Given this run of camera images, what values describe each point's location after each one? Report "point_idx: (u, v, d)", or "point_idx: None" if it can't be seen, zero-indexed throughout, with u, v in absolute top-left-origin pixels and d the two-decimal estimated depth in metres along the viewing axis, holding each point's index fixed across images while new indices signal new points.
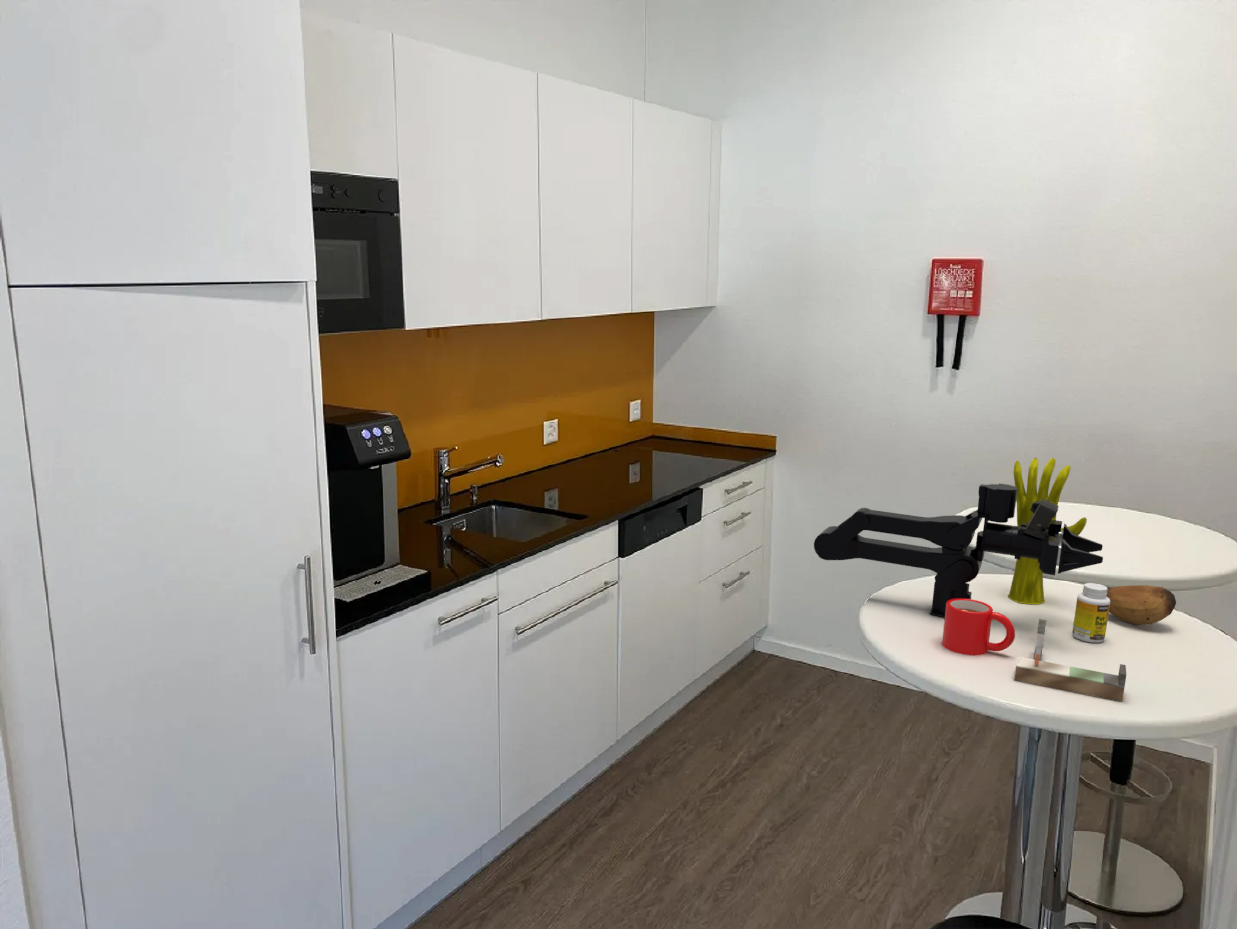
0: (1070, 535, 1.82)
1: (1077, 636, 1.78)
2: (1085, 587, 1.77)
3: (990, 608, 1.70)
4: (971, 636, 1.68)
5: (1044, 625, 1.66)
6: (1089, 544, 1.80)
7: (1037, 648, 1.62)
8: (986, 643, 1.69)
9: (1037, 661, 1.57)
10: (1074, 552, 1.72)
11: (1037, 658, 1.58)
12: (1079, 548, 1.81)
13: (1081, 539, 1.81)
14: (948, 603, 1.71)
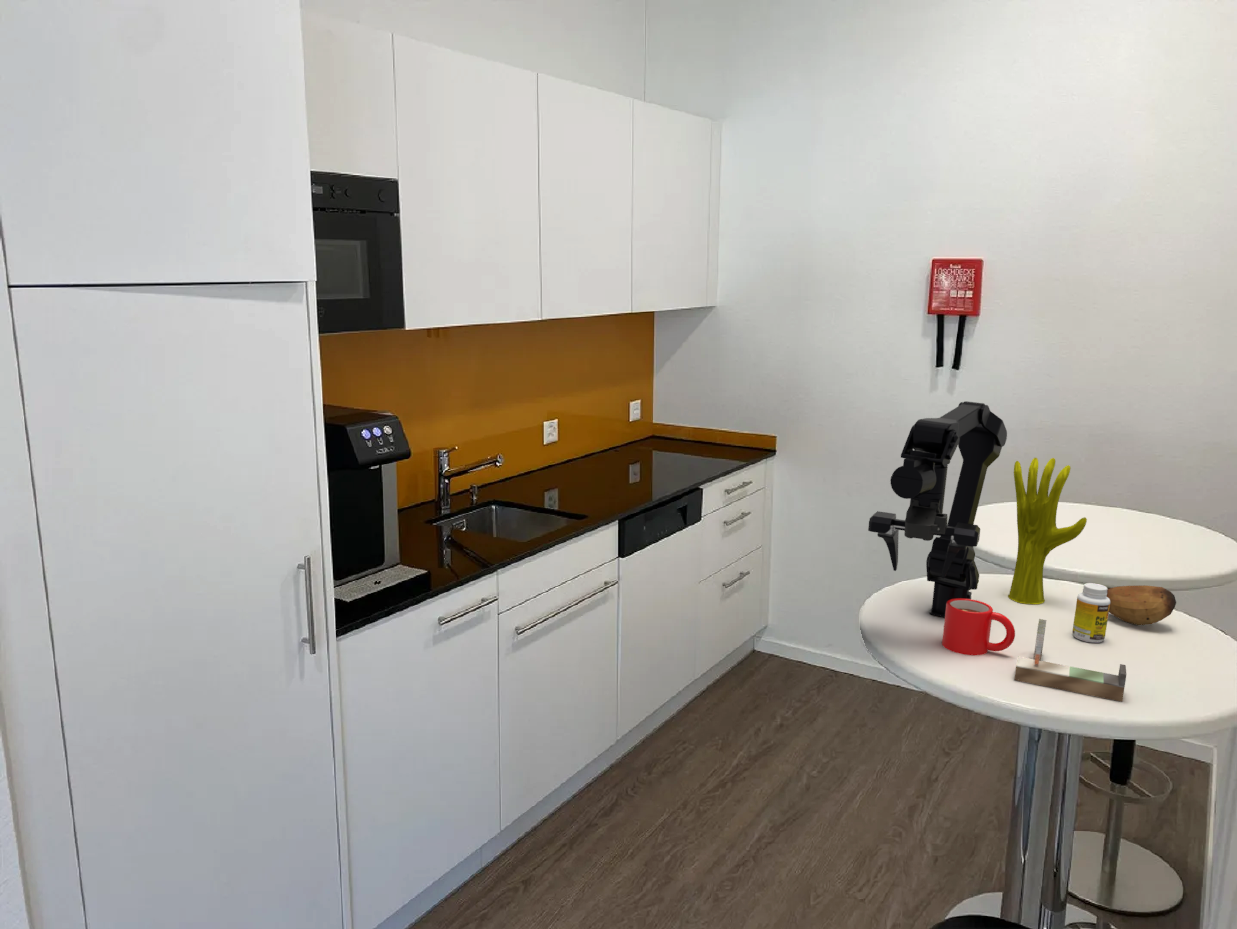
0: (947, 550, 1.69)
1: (1077, 636, 1.78)
2: (1085, 587, 1.77)
3: (990, 608, 1.70)
4: (971, 636, 1.68)
5: (1044, 625, 1.66)
6: (943, 566, 1.71)
7: (1037, 648, 1.62)
8: (986, 643, 1.69)
9: (1037, 661, 1.57)
10: (887, 545, 1.74)
11: (1037, 658, 1.58)
12: None
13: (945, 560, 1.70)
14: (948, 603, 1.71)
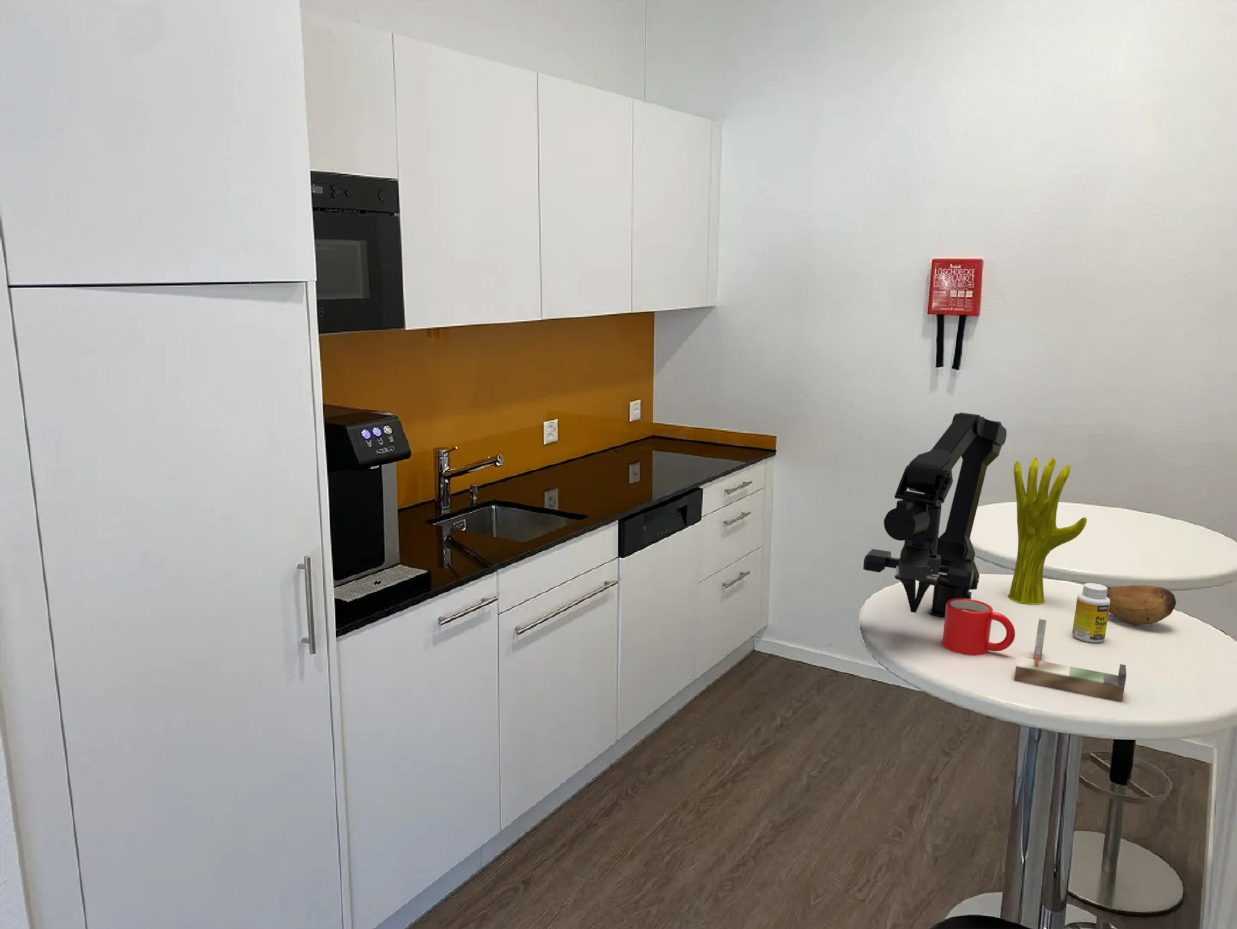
0: None
1: (1077, 636, 1.78)
2: (1085, 587, 1.77)
3: (990, 608, 1.70)
4: (971, 636, 1.68)
5: (1044, 625, 1.66)
6: (915, 601, 1.75)
7: (1037, 648, 1.62)
8: (986, 643, 1.69)
9: (1037, 661, 1.57)
10: (905, 587, 1.74)
11: (1037, 658, 1.58)
12: None
13: None
14: (948, 603, 1.71)
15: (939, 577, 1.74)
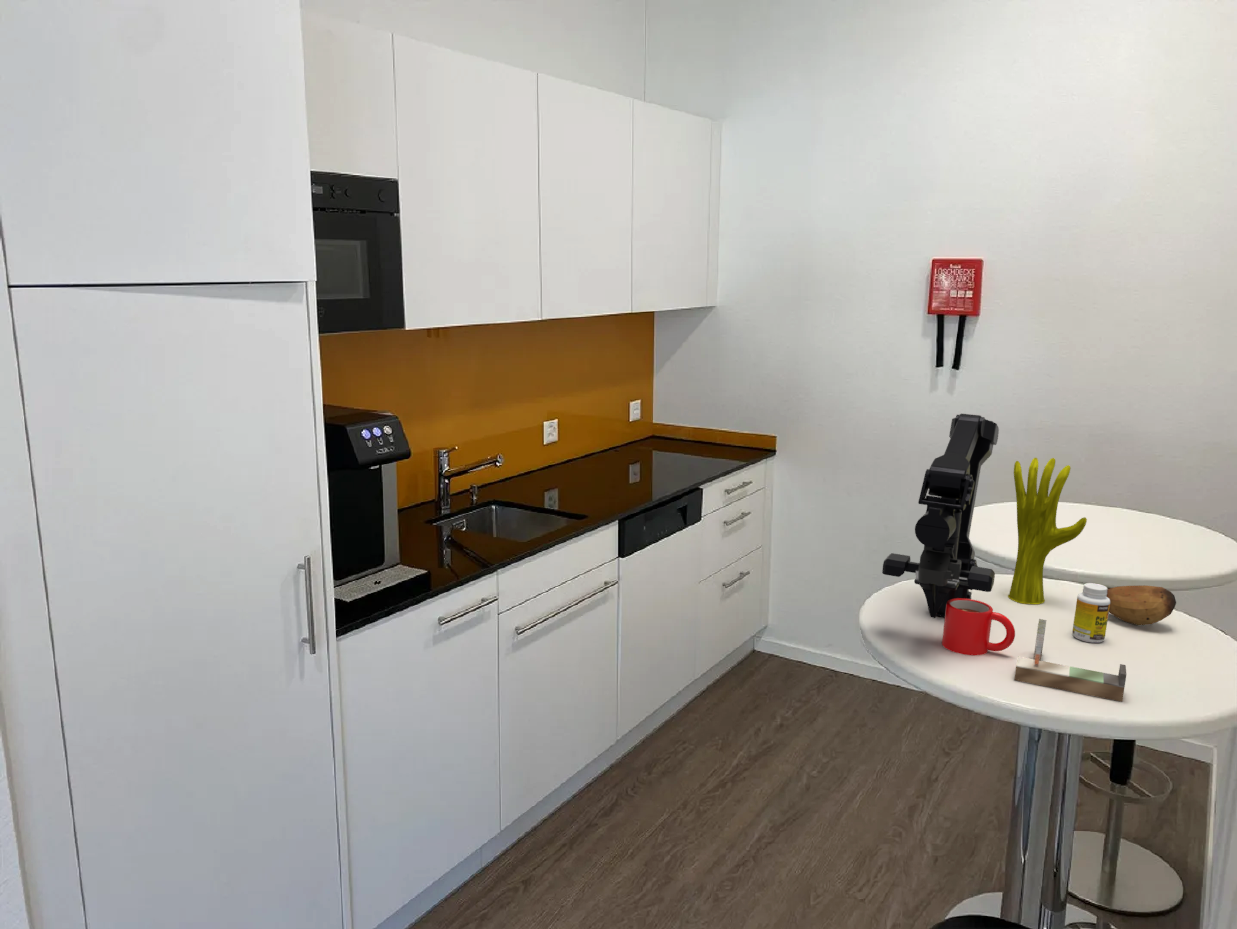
0: None
1: (1077, 636, 1.78)
2: (1085, 587, 1.77)
3: (990, 608, 1.70)
4: (971, 636, 1.68)
5: (1044, 625, 1.66)
6: (934, 606, 1.73)
7: (1037, 648, 1.62)
8: (986, 643, 1.69)
9: (1037, 661, 1.57)
10: None
11: (1037, 658, 1.58)
12: None
13: (936, 599, 1.72)
14: (948, 603, 1.71)
15: (959, 582, 1.72)
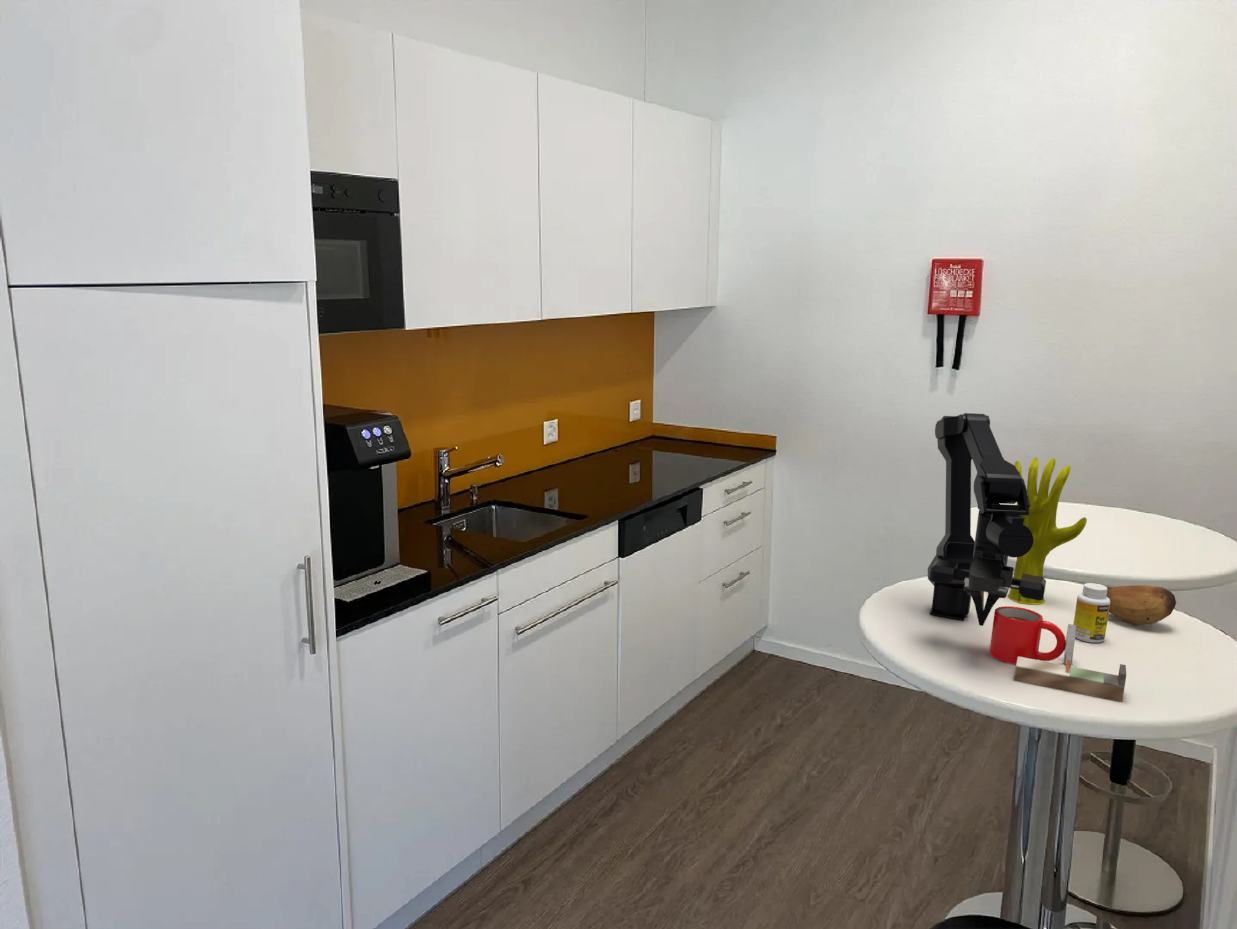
0: (987, 597, 1.68)
1: (1077, 636, 1.78)
2: (1085, 587, 1.77)
3: (1040, 617, 1.66)
4: (1020, 645, 1.64)
5: (1074, 630, 1.64)
6: (982, 613, 1.69)
7: (1067, 654, 1.60)
8: (1036, 652, 1.65)
9: (1068, 667, 1.55)
10: None
11: (1068, 664, 1.56)
12: None
13: (984, 607, 1.68)
14: (996, 611, 1.68)
15: (1008, 589, 1.69)
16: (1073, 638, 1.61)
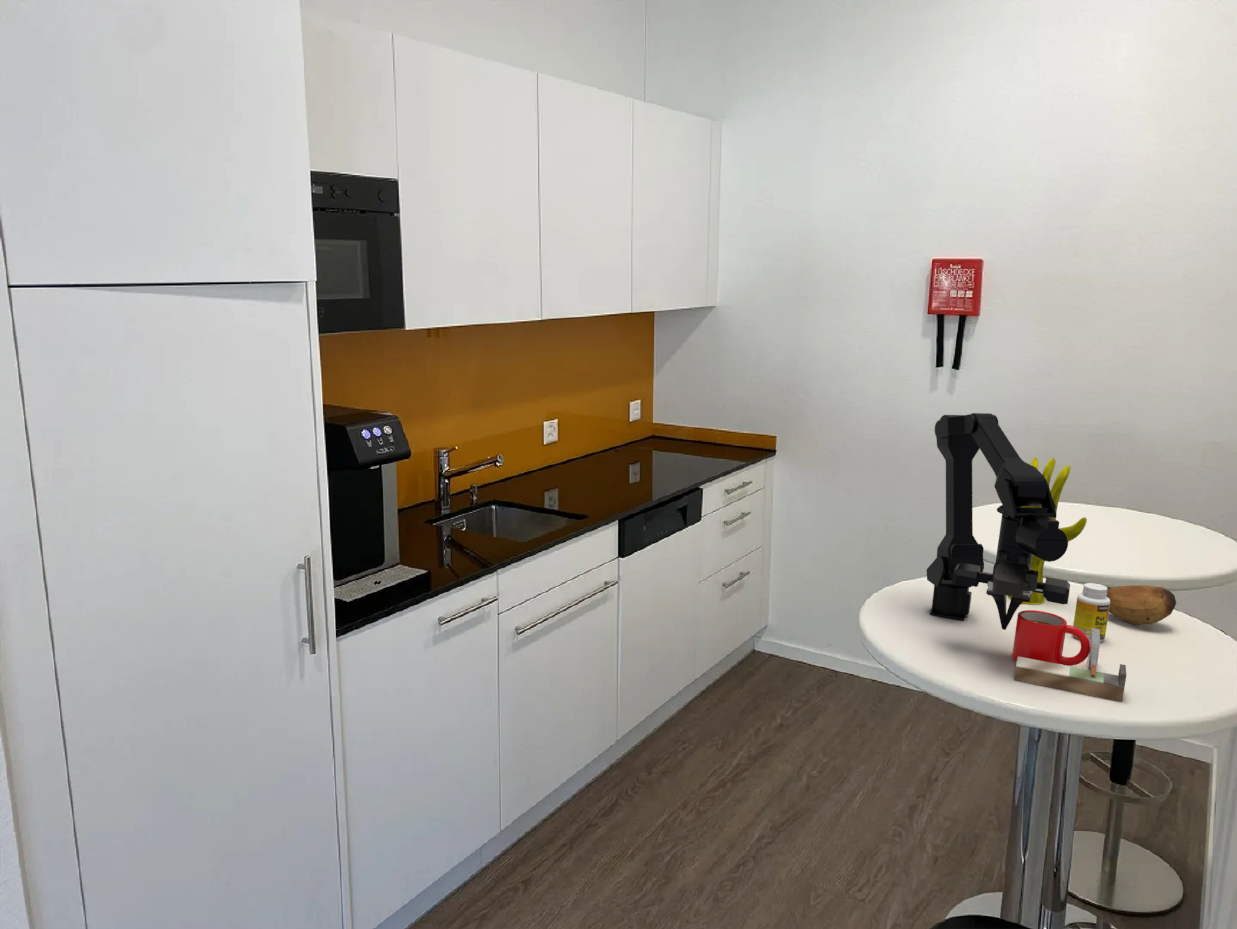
0: (1010, 601, 1.66)
1: None
2: (1085, 587, 1.77)
3: (1064, 621, 1.64)
4: (1044, 649, 1.63)
5: (1098, 634, 1.63)
6: (1005, 617, 1.68)
7: (1092, 658, 1.59)
8: (1059, 657, 1.64)
9: (1094, 672, 1.54)
10: (996, 603, 1.67)
11: (1094, 669, 1.55)
12: None
13: (1007, 611, 1.67)
14: (1020, 615, 1.66)
15: None
16: (1098, 642, 1.59)
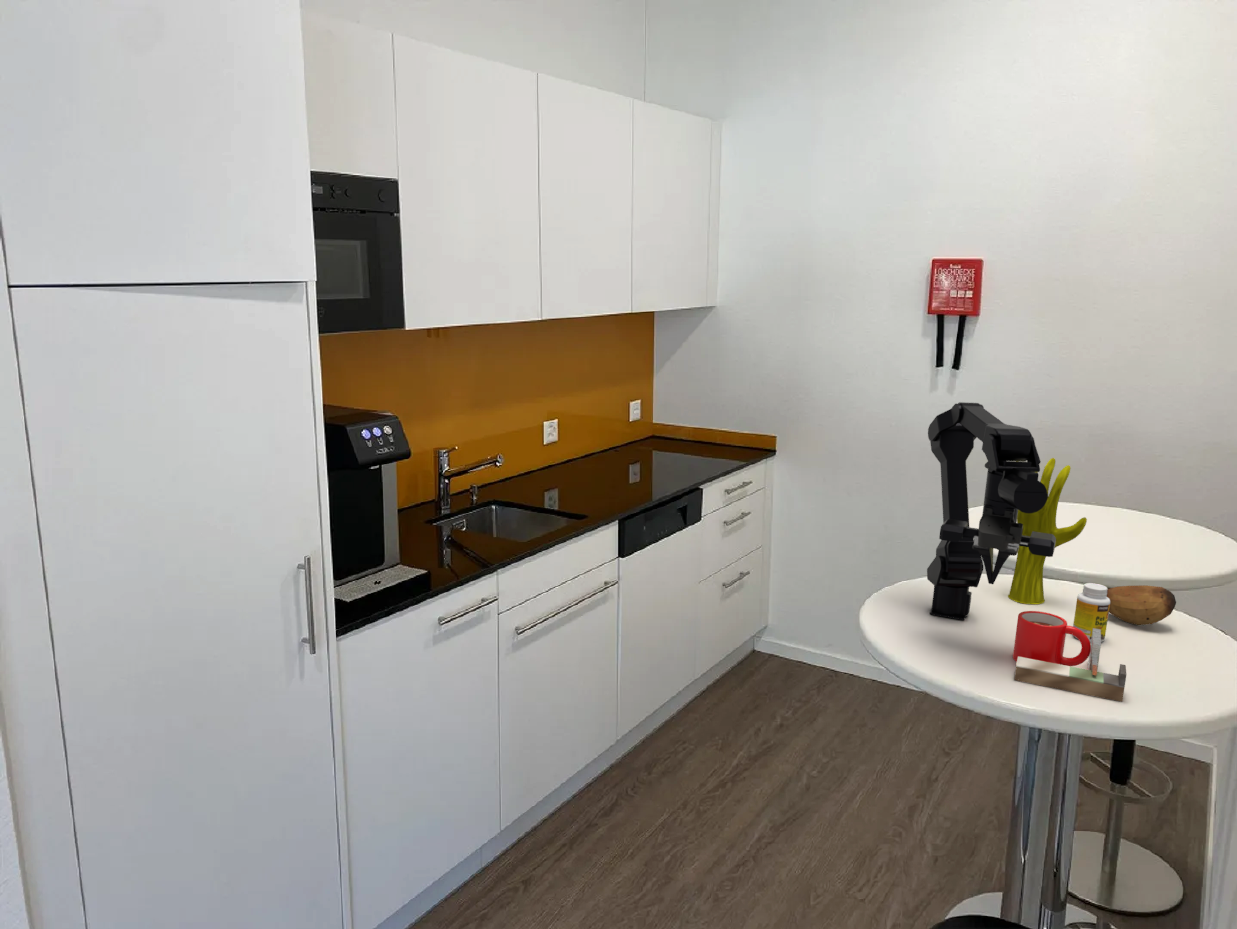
0: None
1: None
2: (1085, 587, 1.77)
3: (1064, 621, 1.64)
4: (1045, 650, 1.62)
5: (1099, 635, 1.63)
6: (993, 572, 1.70)
7: (1093, 658, 1.59)
8: (1060, 658, 1.64)
9: (1095, 672, 1.54)
10: (983, 558, 1.69)
11: (1095, 669, 1.55)
12: None
13: None
14: (1020, 616, 1.66)
15: (1018, 548, 1.69)
16: (1099, 643, 1.59)
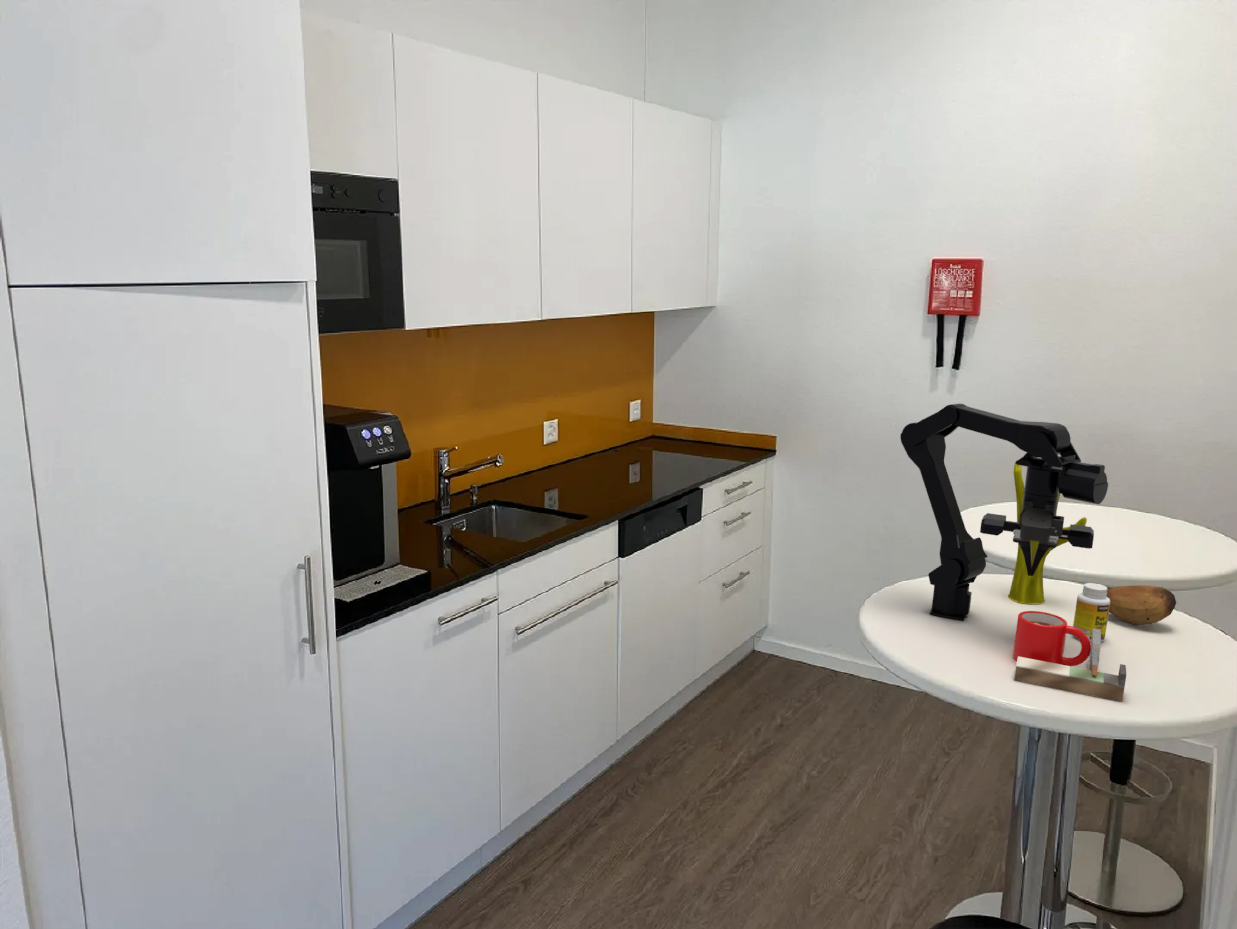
0: (1037, 548, 1.73)
1: None
2: (1085, 587, 1.77)
3: (1064, 621, 1.64)
4: (1045, 650, 1.62)
5: (1099, 635, 1.63)
6: (1032, 564, 1.75)
7: (1093, 658, 1.59)
8: (1060, 658, 1.64)
9: (1095, 672, 1.54)
10: (1022, 550, 1.75)
11: (1095, 669, 1.55)
12: None
13: (1034, 557, 1.74)
14: (1020, 616, 1.66)
15: None
16: (1099, 643, 1.59)
